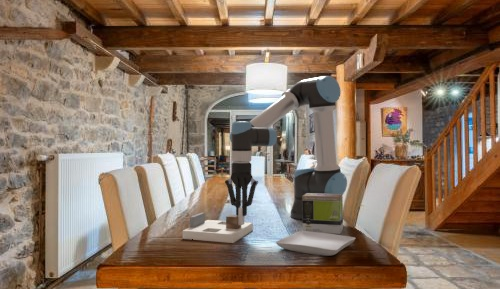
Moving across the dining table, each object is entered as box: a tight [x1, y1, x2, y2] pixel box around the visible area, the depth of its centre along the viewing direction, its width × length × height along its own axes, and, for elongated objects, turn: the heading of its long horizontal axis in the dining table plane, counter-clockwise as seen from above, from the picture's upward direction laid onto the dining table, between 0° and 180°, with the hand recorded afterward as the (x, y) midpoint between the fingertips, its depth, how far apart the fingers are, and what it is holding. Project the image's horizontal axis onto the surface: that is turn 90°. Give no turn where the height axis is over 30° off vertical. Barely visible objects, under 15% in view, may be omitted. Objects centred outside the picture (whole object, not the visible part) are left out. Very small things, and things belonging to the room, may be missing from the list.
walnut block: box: [225, 214, 241, 229], centre depth 156 cm, size 4×4×4 cm
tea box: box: [301, 193, 344, 235], centre depth 164 cm, size 15×10×15 cm
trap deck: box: [182, 212, 254, 244], centre depth 158 cm, size 20×22×7 cm
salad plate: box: [275, 230, 356, 257], centre depth 138 cm, size 21×21×3 cm
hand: (241, 224), depth 155 cm, fingers closed
